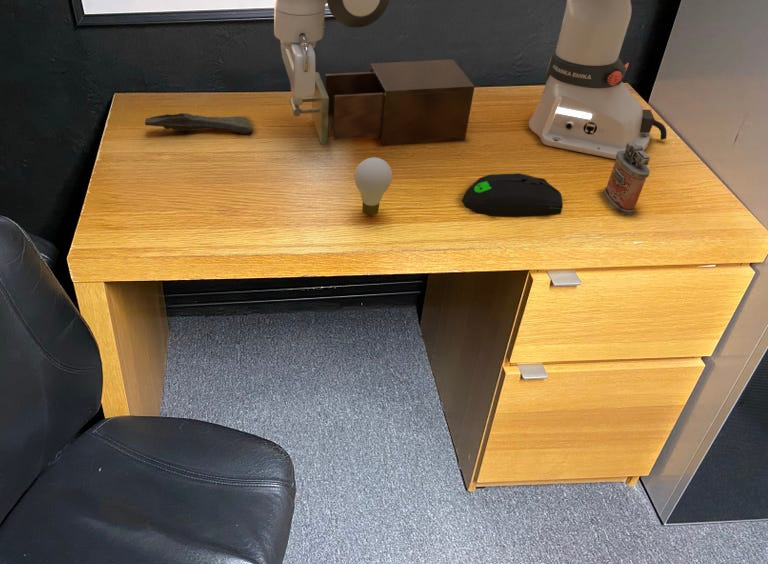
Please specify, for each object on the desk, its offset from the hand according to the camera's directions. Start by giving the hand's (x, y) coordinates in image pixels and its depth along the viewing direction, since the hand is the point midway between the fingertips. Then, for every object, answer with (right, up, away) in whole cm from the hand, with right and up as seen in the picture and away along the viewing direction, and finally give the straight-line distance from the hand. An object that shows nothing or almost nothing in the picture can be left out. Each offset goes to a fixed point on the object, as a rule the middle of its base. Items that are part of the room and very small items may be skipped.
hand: (296, 102), depth 132 cm
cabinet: (+24, -3, +6) cm, 25 cm away
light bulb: (+12, -25, -17) cm, 33 cm away
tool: (-19, -3, +7) cm, 21 cm away
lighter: (+54, -23, -15) cm, 61 cm away
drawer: (+9, -3, +5) cm, 11 cm away
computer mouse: (+36, -22, -14) cm, 44 cm away
